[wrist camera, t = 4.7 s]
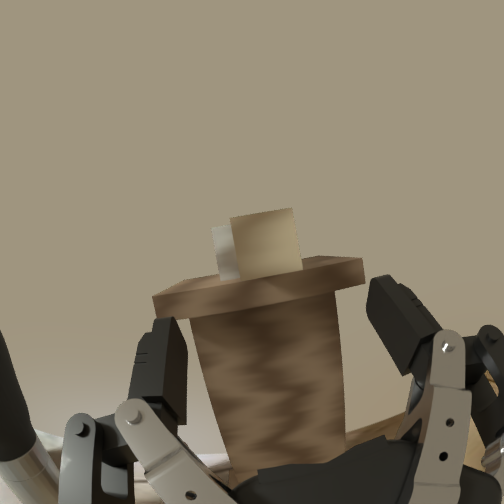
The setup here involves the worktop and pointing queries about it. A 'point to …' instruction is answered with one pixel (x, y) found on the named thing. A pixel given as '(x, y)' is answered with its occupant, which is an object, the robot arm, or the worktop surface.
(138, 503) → the worktop surface
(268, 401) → the stand
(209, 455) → the worktop surface
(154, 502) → the worktop surface
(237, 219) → the grey and beige bar
